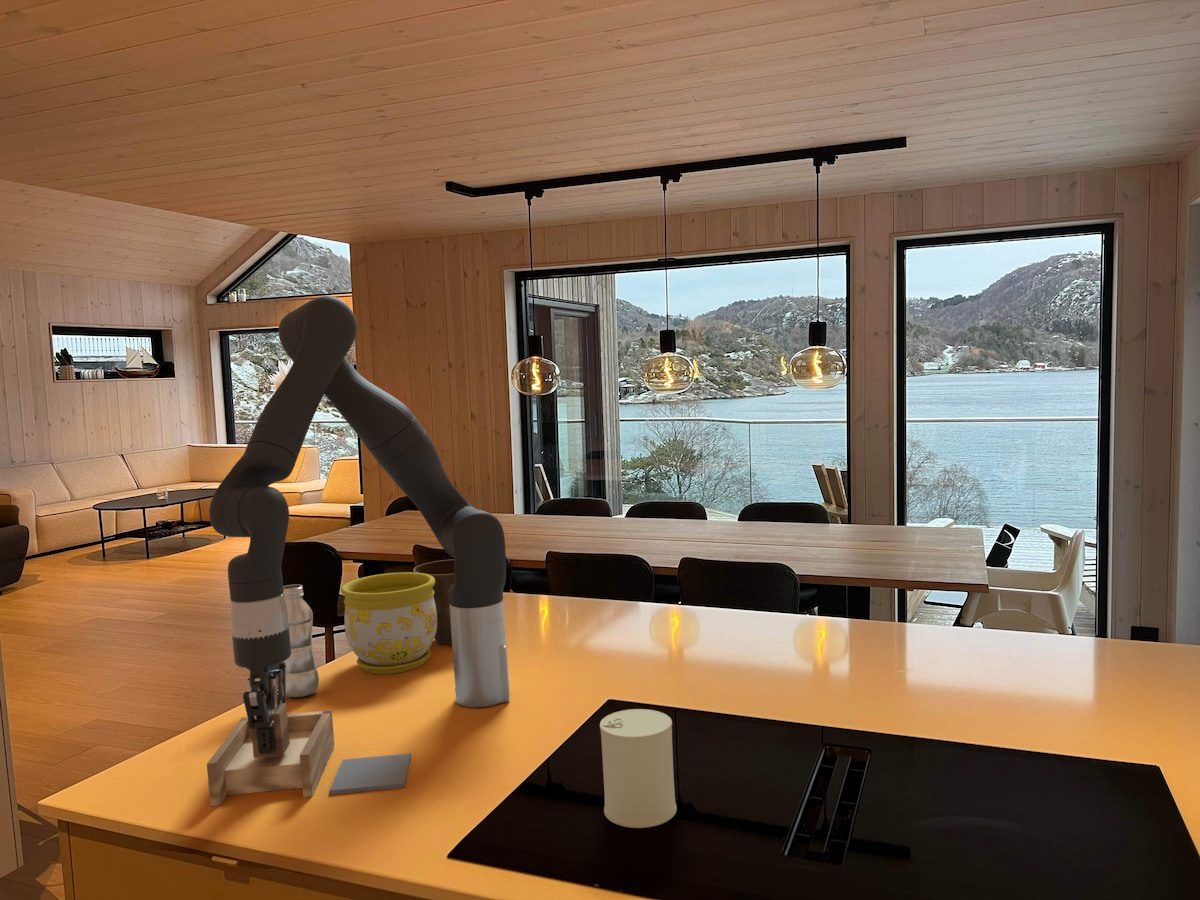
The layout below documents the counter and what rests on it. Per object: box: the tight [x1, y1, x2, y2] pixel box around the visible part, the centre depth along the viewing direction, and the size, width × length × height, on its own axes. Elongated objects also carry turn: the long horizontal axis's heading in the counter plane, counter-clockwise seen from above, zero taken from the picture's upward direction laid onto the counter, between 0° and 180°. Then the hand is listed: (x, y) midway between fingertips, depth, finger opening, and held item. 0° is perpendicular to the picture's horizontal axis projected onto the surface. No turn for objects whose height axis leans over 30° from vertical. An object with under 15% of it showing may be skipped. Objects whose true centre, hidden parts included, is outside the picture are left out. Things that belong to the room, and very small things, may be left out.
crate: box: [206, 710, 335, 807], centre depth 131 cm, size 13×16×6 cm
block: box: [251, 703, 290, 758], centre depth 129 cm, size 4×4×6 cm
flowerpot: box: [340, 571, 437, 675], centre depth 179 cm, size 18×18×16 cm
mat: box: [329, 752, 412, 795], centre depth 130 cm, size 10×10×1 cm
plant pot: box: [413, 558, 455, 646], centre depth 193 cm, size 15×15×16 cm
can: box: [599, 708, 677, 829], centre depth 115 cm, size 9×9×12 cm
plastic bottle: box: [283, 584, 320, 698], centre depth 164 cm, size 6×7×20 cm
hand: (271, 745), depth 129 cm, fingers closed on block, 4 cm apart
